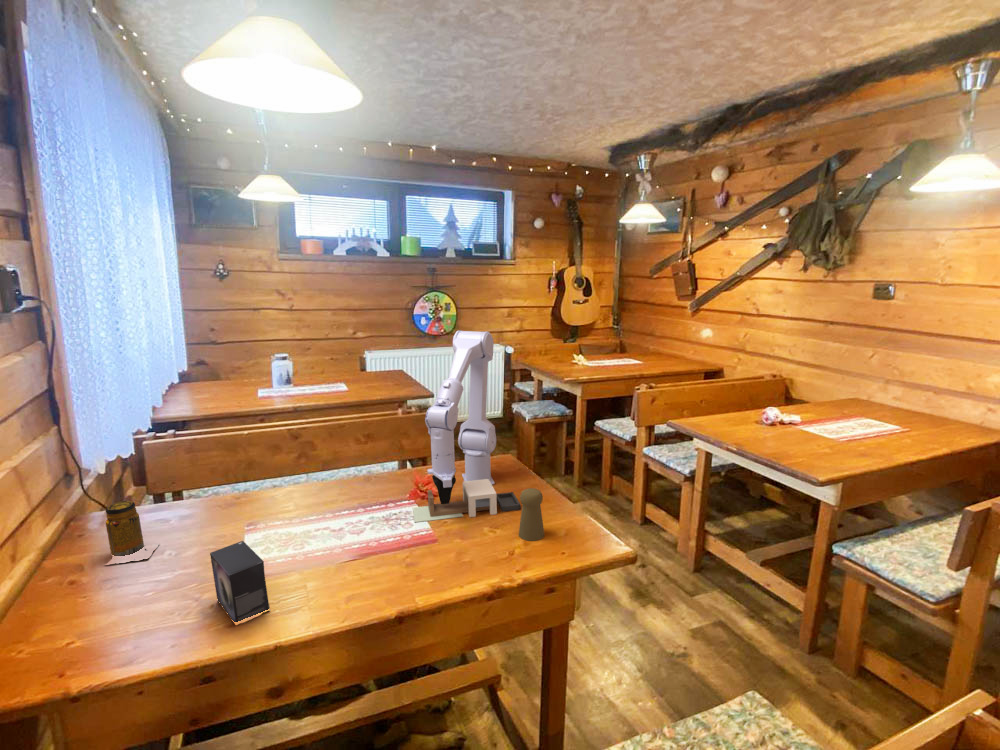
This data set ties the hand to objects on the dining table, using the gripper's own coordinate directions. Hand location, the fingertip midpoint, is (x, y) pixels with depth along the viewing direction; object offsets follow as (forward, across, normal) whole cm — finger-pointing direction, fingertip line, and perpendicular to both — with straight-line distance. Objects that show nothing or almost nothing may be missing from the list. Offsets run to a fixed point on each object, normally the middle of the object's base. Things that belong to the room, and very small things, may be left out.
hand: (444, 502), depth 137 cm
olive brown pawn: (+3, +17, +18) cm, 25 cm away
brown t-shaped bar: (+2, 0, +4) cm, 5 cm away
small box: (+3, +29, -42) cm, 51 cm away
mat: (+2, 0, -2) cm, 3 cm away
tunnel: (+2, 0, +9) cm, 9 cm away
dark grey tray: (+2, 0, +16) cm, 17 cm away
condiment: (+3, +3, -70) cm, 70 cm away
